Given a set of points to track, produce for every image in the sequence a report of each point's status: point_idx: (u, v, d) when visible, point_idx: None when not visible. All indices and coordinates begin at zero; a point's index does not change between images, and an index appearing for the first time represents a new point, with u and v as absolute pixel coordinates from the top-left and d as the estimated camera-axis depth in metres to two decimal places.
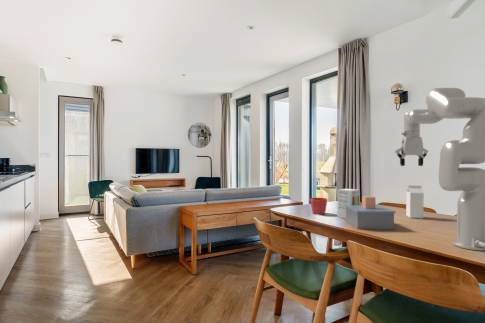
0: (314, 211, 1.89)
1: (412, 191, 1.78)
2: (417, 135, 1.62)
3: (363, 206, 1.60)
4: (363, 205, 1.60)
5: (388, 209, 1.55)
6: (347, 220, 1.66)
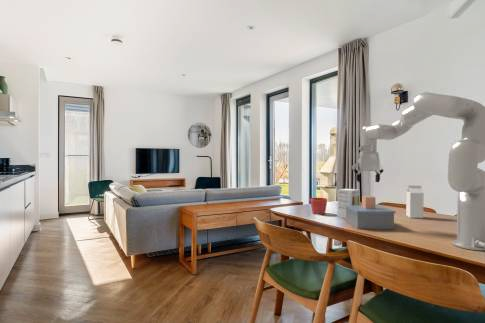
0: (314, 211, 1.89)
1: (412, 191, 1.78)
2: (373, 150, 1.55)
3: (363, 206, 1.60)
4: (363, 205, 1.60)
5: (388, 209, 1.55)
6: (347, 220, 1.66)
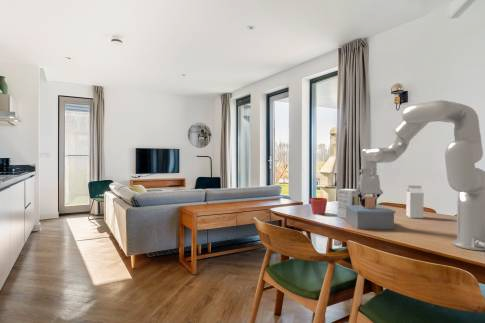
0: (314, 211, 1.89)
1: (412, 191, 1.78)
2: (373, 173, 1.55)
3: None
4: None
5: (388, 209, 1.55)
6: (347, 220, 1.66)
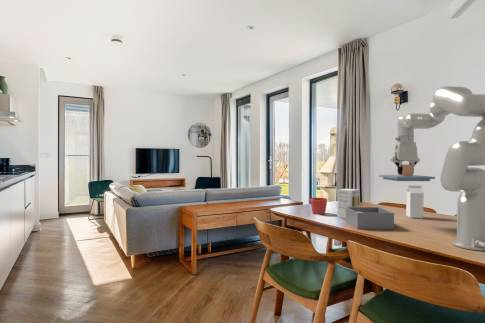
0: (314, 211, 1.89)
1: (412, 191, 1.78)
2: (411, 140, 1.55)
3: (400, 174, 1.59)
4: None
5: (426, 176, 1.54)
6: (347, 220, 1.66)
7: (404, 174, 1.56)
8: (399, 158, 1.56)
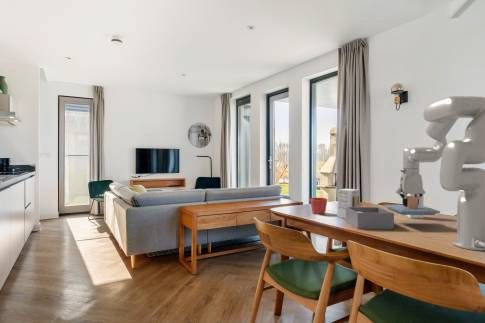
0: (314, 211, 1.89)
1: None
2: (416, 173, 1.55)
3: (405, 206, 1.60)
4: None
5: (431, 209, 1.55)
6: (347, 220, 1.66)
7: (409, 206, 1.57)
8: (404, 191, 1.56)
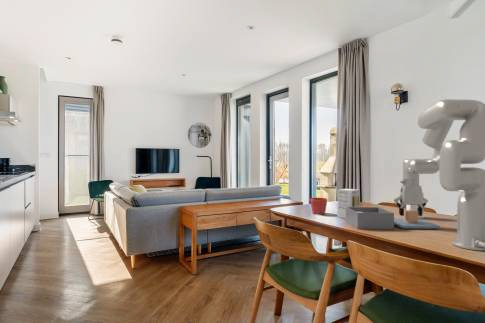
0: (314, 211, 1.89)
1: None
2: (416, 184, 1.55)
3: (405, 220, 1.59)
4: (405, 219, 1.59)
5: (431, 223, 1.54)
6: (347, 220, 1.66)
7: (409, 221, 1.56)
8: (404, 202, 1.56)
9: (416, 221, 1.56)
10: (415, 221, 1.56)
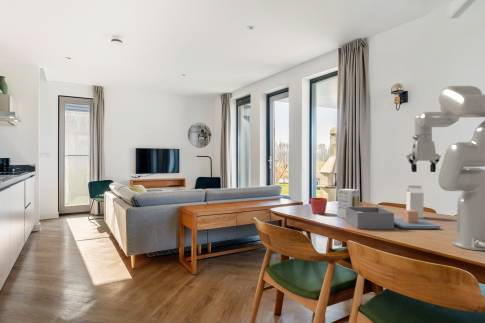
0: (314, 211, 1.89)
1: (412, 191, 1.78)
2: (429, 139, 1.52)
3: (405, 220, 1.59)
4: (405, 219, 1.59)
5: (431, 223, 1.54)
6: (347, 220, 1.66)
7: (409, 221, 1.56)
8: (417, 157, 1.53)
9: (416, 221, 1.56)
10: (415, 221, 1.56)
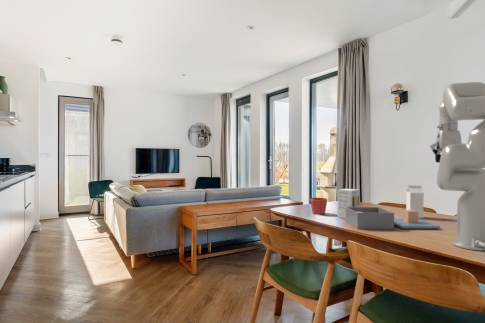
0: (314, 211, 1.89)
1: (412, 191, 1.78)
2: (455, 128, 1.46)
3: (405, 220, 1.59)
4: (405, 219, 1.59)
5: (431, 223, 1.54)
6: (347, 220, 1.66)
7: (409, 221, 1.56)
8: (442, 147, 1.48)
9: (416, 221, 1.56)
10: (415, 221, 1.56)
